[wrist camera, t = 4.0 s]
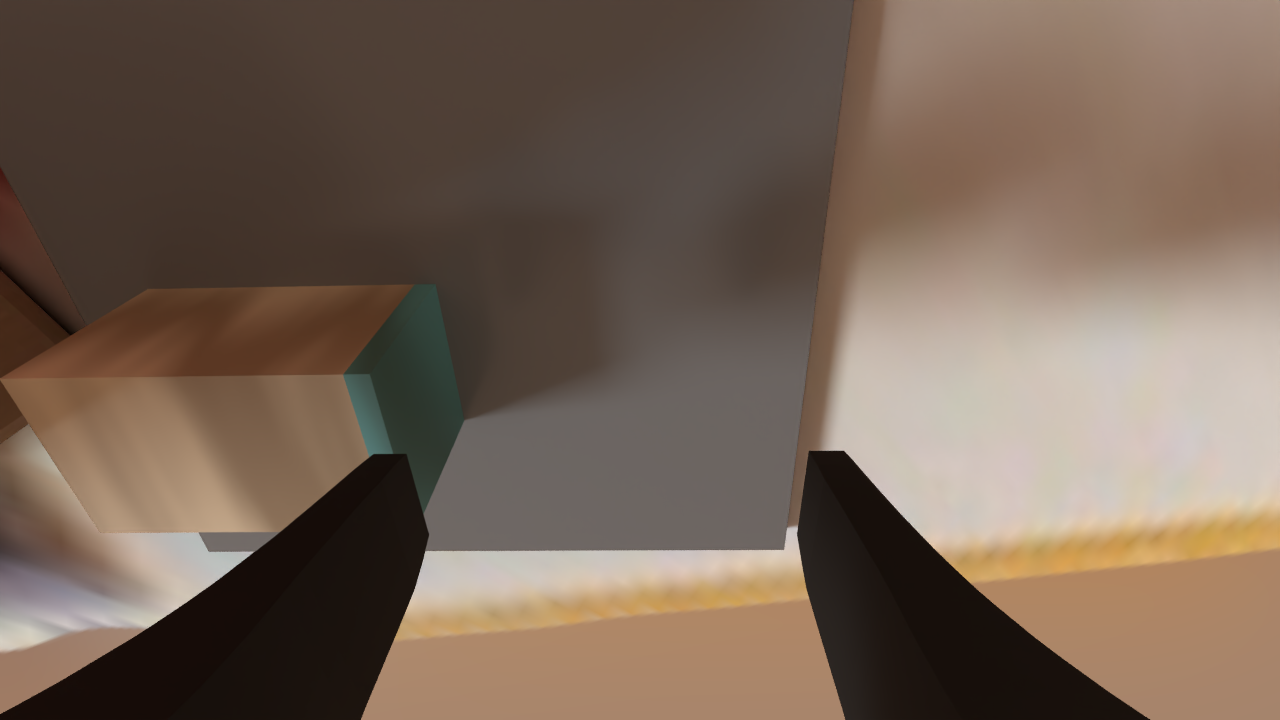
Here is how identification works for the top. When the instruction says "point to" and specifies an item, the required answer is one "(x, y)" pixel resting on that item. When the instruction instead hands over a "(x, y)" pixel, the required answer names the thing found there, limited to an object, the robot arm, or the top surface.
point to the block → (20, 345)
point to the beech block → (241, 402)
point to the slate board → (477, 221)
